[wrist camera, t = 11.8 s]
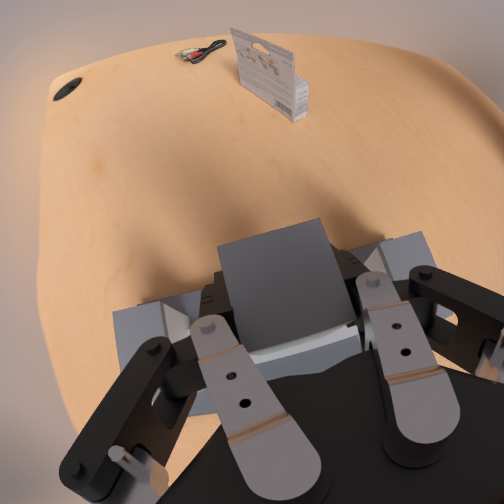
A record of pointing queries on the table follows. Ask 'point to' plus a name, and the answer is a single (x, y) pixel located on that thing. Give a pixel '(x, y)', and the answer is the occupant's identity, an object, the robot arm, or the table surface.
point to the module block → (285, 288)
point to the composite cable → (200, 52)
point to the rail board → (281, 362)
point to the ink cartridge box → (271, 75)
